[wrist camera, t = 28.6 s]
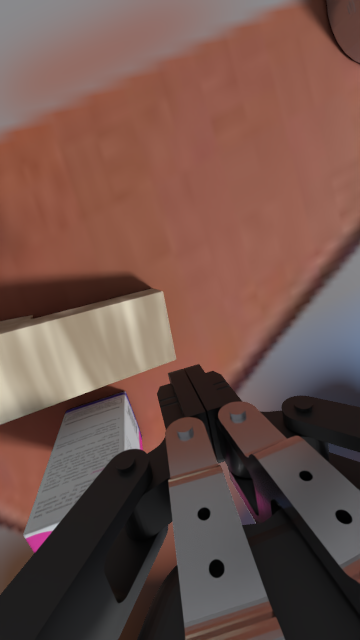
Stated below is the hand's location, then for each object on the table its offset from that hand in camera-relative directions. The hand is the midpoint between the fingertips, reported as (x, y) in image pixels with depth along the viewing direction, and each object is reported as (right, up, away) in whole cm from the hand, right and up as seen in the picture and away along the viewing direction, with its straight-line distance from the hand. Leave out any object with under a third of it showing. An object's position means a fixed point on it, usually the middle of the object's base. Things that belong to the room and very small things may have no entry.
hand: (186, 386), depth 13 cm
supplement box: (-7, -7, +14) cm, 17 cm away
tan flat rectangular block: (-2, +3, +11) cm, 11 cm away
